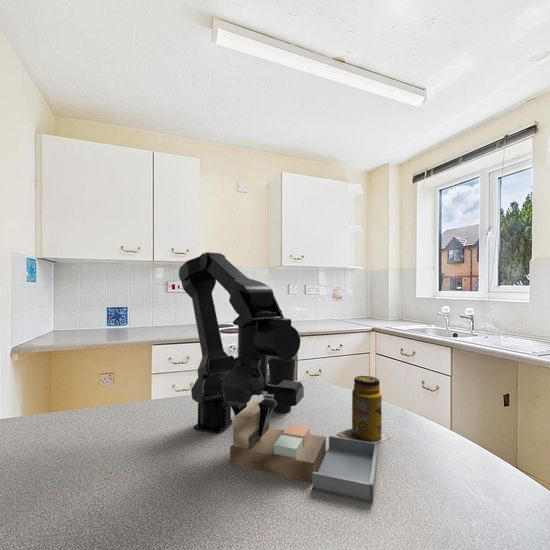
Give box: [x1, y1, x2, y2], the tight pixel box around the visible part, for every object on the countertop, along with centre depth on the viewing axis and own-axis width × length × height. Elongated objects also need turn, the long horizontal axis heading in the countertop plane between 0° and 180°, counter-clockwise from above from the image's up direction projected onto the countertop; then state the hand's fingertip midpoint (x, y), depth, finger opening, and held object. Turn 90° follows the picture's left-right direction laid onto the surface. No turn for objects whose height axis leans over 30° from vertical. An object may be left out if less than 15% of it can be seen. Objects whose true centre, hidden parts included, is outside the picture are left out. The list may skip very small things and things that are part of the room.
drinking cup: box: [268, 354, 297, 414], centre depth 85 cm, size 8×8×20 cm
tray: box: [311, 435, 379, 504], centre depth 56 cm, size 9×14×2 cm, turn 160°
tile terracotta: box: [283, 423, 311, 445], centre depth 62 cm, size 4×4×2 cm
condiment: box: [336, 375, 391, 444], centre depth 70 cm, size 7×8×12 cm
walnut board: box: [229, 427, 327, 483], centre depth 61 cm, size 15×10×3 cm, turn 70°
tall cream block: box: [232, 401, 270, 449], centre depth 63 cm, size 3×9×5 cm, turn 160°
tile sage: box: [274, 435, 303, 458], centre depth 57 cm, size 4×4×2 cm
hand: (252, 434), depth 63 cm, fingers closed on tall cream block, 3 cm apart
